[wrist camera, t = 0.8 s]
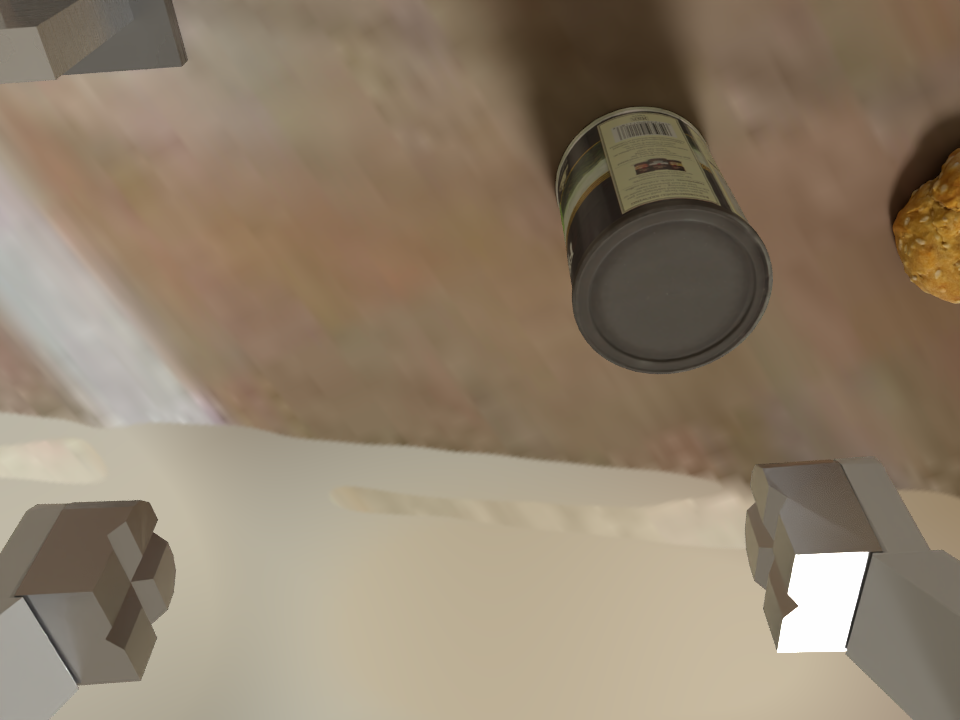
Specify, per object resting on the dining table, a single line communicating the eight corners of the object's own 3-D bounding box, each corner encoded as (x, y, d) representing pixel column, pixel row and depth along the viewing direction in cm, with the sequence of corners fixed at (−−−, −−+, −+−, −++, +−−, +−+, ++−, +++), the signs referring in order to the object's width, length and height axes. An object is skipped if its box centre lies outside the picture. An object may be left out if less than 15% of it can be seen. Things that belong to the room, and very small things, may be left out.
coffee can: (597, 276, 60) (623, 402, 48) (527, 155, 54) (537, 264, 43) (737, 208, 56) (800, 326, 45) (677, 73, 51) (731, 168, 40)
